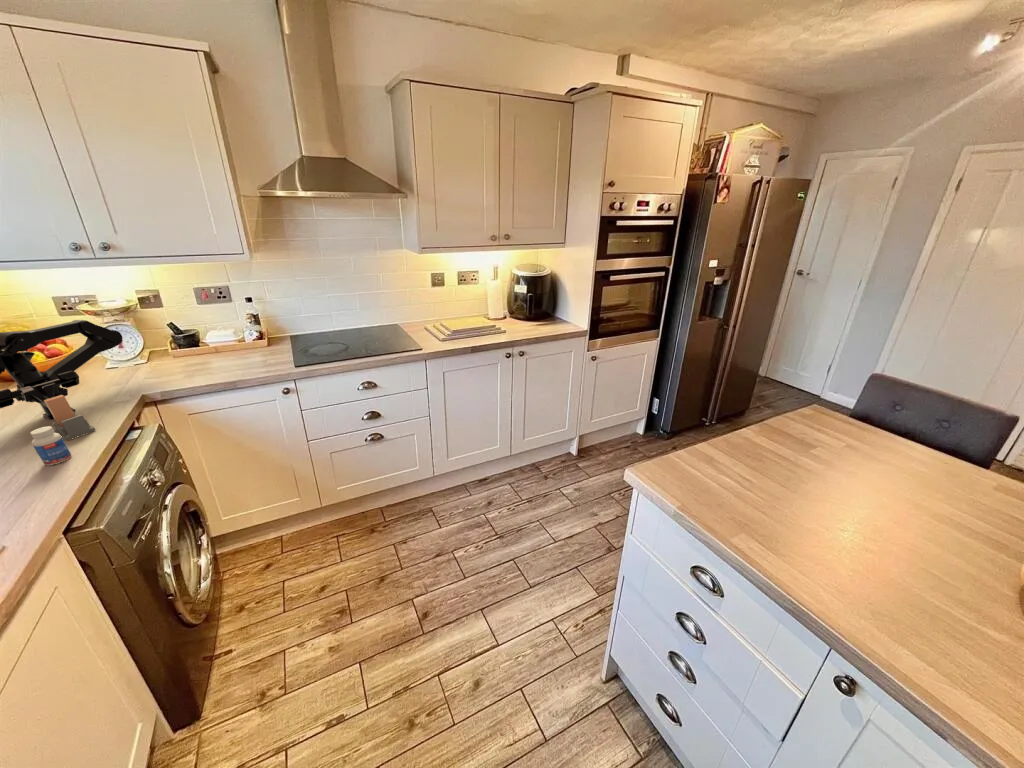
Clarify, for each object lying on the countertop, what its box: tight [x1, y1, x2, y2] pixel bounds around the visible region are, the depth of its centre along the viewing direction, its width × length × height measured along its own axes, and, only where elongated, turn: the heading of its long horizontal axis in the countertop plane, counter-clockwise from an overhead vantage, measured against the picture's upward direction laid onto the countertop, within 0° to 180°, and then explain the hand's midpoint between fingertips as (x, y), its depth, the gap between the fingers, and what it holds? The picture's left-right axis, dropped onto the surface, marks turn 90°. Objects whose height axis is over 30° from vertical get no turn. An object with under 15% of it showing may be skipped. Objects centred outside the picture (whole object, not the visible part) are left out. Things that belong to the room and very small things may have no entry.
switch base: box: [51, 414, 96, 441], centre depth 125 cm, size 10×6×6 cm, turn 62°
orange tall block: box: [44, 395, 76, 430], centre depth 125 cm, size 2×4×10 cm, turn 152°
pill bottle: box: [30, 425, 72, 466], centre depth 111 cm, size 6×5×10 cm
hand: (55, 409), depth 127 cm, fingers closed
